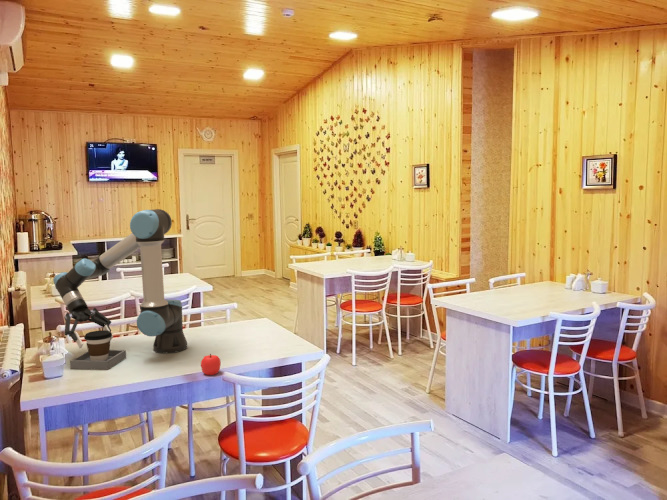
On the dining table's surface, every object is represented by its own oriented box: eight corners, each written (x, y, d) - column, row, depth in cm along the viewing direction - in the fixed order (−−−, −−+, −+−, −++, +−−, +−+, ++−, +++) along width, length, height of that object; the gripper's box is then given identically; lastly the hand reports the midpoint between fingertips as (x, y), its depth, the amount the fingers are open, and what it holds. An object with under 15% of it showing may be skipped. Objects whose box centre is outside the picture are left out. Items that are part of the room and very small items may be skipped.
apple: (196, 375, 215) (196, 355, 214) (208, 369, 222) (207, 350, 221) (214, 377, 212) (213, 357, 211) (225, 371, 219) (224, 352, 218)
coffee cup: (79, 363, 227) (78, 335, 226) (97, 356, 238) (95, 329, 237) (102, 365, 225) (100, 337, 223) (118, 357, 235) (117, 330, 234)
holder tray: (91, 357, 240) (91, 349, 239) (126, 358, 238) (125, 350, 238) (70, 369, 224) (70, 360, 224) (107, 369, 222) (107, 361, 222)
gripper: (98, 303, 249) (119, 340, 242) (43, 314, 229) (64, 354, 222) (104, 293, 245) (126, 330, 238) (49, 303, 225) (71, 344, 218)
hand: (96, 342), depth 230 cm, fingers open, 13 cm apart
